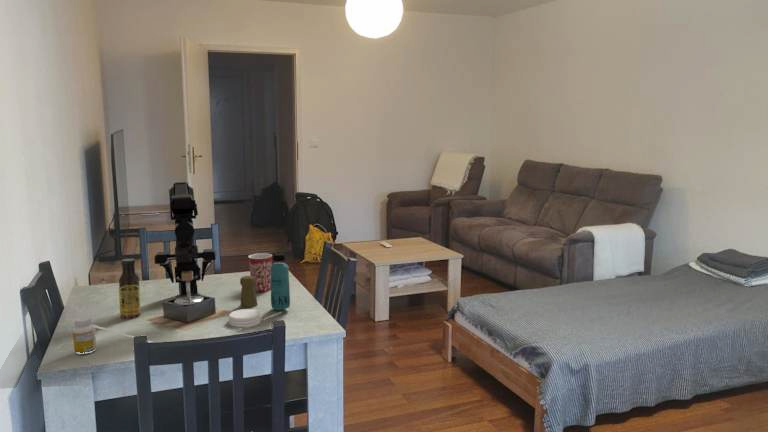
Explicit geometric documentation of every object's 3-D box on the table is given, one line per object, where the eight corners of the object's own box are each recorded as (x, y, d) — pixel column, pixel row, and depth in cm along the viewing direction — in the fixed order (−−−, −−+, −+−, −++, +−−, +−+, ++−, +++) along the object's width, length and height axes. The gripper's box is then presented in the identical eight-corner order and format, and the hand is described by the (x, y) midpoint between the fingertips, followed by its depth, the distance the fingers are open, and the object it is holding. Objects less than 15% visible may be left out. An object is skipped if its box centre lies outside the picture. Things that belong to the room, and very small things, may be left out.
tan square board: (144, 321, 188) (144, 319, 188) (193, 304, 205) (193, 303, 205) (186, 331, 178) (185, 330, 178) (234, 313, 194) (234, 312, 194)
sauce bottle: (121, 322, 187) (115, 262, 184) (120, 316, 193) (114, 258, 190) (142, 319, 190) (138, 260, 187) (141, 313, 196) (136, 256, 193)
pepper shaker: (253, 310, 198) (251, 279, 196) (237, 309, 199) (235, 278, 198) (260, 304, 204) (259, 274, 202) (244, 303, 205) (243, 273, 204)
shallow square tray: (159, 316, 190) (158, 300, 190) (187, 307, 200) (186, 291, 199) (187, 323, 183) (186, 307, 182) (215, 313, 193) (214, 297, 192)
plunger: (168, 303, 189) (166, 273, 187) (190, 295, 197) (189, 267, 195) (187, 307, 184) (185, 277, 183) (209, 299, 192) (207, 270, 190)
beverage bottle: (272, 308, 200) (269, 252, 197) (291, 307, 200) (289, 251, 197) (270, 314, 193) (267, 256, 190) (290, 313, 194) (287, 255, 191)
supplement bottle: (80, 348, 165) (77, 316, 164) (99, 348, 166) (96, 315, 164) (71, 356, 160) (67, 322, 159) (91, 355, 160) (87, 321, 159)
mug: (277, 290, 222) (276, 255, 220) (255, 294, 217) (254, 259, 215) (263, 283, 232) (262, 250, 230) (242, 287, 227) (240, 253, 225)
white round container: (234, 318, 190) (233, 308, 190) (264, 318, 190) (263, 308, 189) (224, 329, 180) (224, 318, 180) (256, 329, 180) (255, 318, 179)
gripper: (150, 241, 177) (153, 290, 180) (213, 238, 181) (216, 286, 184) (155, 235, 188) (159, 281, 190) (215, 231, 192) (217, 277, 194)
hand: (187, 281), depth 189 cm, fingers open, 9 cm apart
